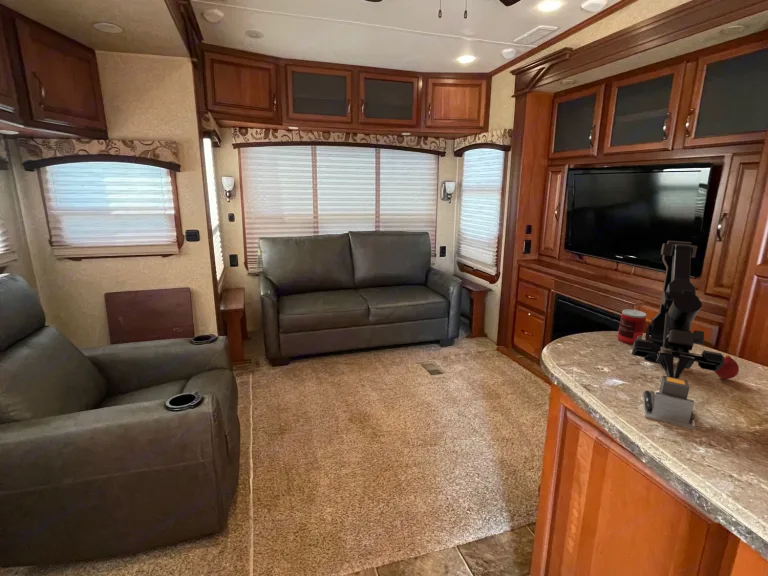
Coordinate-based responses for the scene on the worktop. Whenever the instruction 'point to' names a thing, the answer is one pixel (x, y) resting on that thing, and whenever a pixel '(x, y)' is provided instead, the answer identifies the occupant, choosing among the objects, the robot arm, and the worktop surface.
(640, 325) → the canned food
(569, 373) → the worktop surface
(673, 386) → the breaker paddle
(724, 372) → the onion
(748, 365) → the worktop surface
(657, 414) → the grey handled base plate
